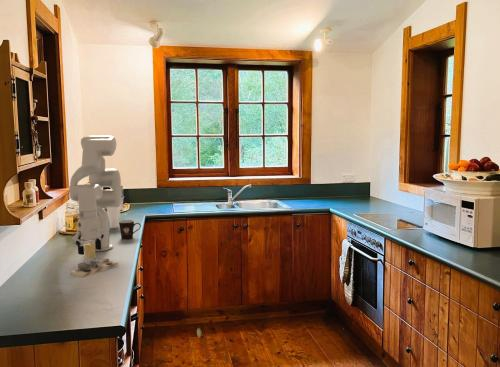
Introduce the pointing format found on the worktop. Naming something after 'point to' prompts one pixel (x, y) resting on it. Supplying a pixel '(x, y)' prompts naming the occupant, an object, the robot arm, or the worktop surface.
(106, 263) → the board
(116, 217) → the cup
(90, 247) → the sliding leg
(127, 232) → the coffee mug
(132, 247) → the worktop surface
